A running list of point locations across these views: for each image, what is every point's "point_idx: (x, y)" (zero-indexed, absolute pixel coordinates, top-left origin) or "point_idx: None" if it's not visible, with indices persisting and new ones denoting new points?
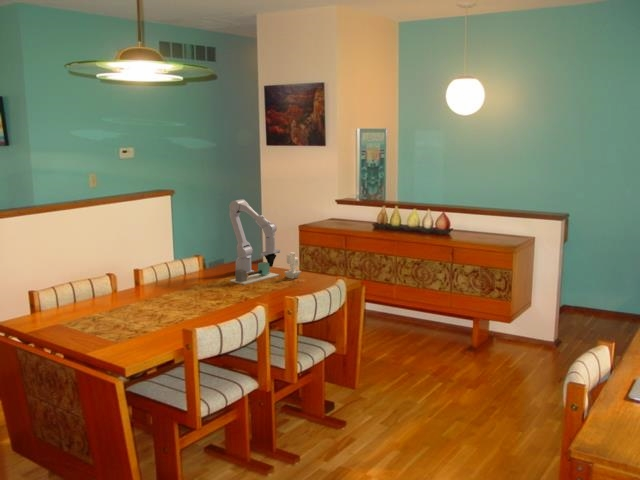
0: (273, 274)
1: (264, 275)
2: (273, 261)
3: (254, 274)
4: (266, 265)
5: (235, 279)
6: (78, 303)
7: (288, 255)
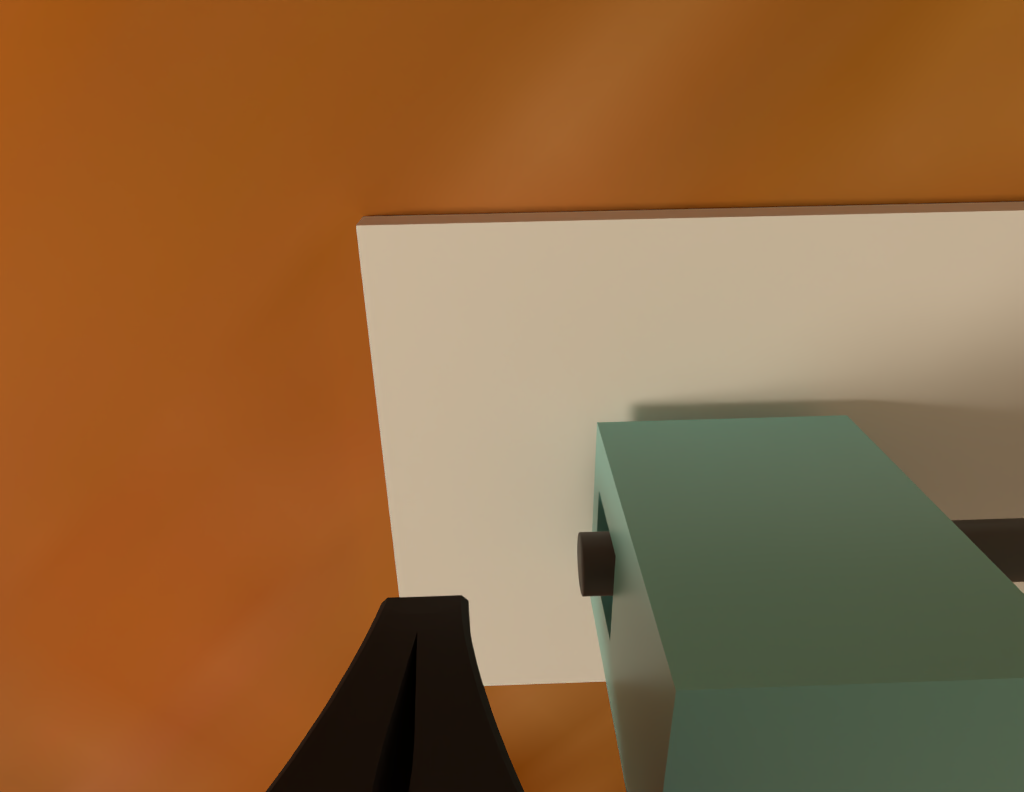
0: (483, 358)
1: None
2: (320, 750)
3: None
4: (836, 612)
5: None
6: None
7: None
